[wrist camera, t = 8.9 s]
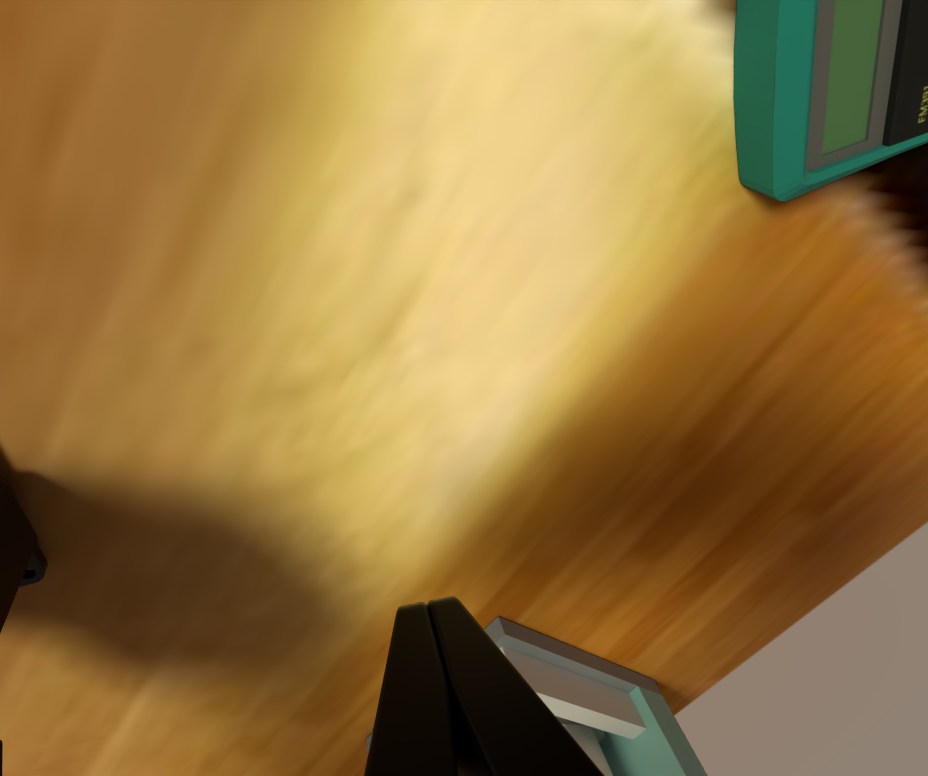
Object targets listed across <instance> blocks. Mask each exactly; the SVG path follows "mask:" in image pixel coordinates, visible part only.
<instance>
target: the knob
mask: <svg viewBox="0 0 928 776" xmlns="http://www.w3.org/2000/svg"><path fill="white" fill-rule="evenodd" d="M556 718H557V719H558V720H559V721H560V722H561V724H562V725H563V726H564V727H565V728H566V730H567V731H568V732H569V733H570V734H571V736H572V737H573V738H574V739H575V740H576V742H577V743H578V744H579V745H580V747H581V748H582V749H583V750H584V751H585V753H586V754H587V755H588V756H589V757H590V759H591V760H592V761H593V762H594V763H595V765H596V766H597V767H598V768H599V769H600V771H601V772H602V773H603V774H604V775H605V776H613V774H612V772H611V770H610V767H609V765H608V763H607V761H606V758H605V756H604V754H603V752H602V749H601V747H600V745H599V743H598V742H600V741H601V740H602V739H603V738H605V737H606V736H605V734H604V732H603V730H600V729H597V728H594V727H590V726H587V725H584V724H580V723H577V722H574V721H571V720H567V719H564V718H561V717H558V716H556Z"/></svg>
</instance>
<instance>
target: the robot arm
mask: <svg viewBox="0 0 928 776" xmlns="http://www.w3.org/2000/svg"><path fill="white" fill-rule="evenodd" d="M37 540H38V537H37V535H36V533H35V531H34V529H33V528H32V526H31V524H30V523H29V521H28V519H27V517H26V516H25V514H24V512H23V510H22V509H21V507H20V505H19V503H18V502H17V500H16V498H15V497H14V495H13V493H12V491H11V490H10V488H9V486H8V484H7V483H6V482H5V481H4V480H2V479H1V478H0V633H1V630H2V628H3V625H4V623H5V620H6V618H7V615H8V613H9V610H10V608H11V605H12V603H13V600H14V598H15V595H16V593H17V590H18V588H19V586H24V585H28V584H33V583H36V582H39V581H40V580H41V579H42V578H43V577H44V574H45V571H46V569H47V566H48V564H47V560H46V559H45V557H44V555H43V553H42V552H41V550H40V548H39V547H38V545H37ZM26 568H31V569H33V570H28V569H26ZM0 776H2V741H1V740H0ZM364 776H605V775H604V774H603V773H602V772H601V771H600V769H599V768H598V767H597V766H596V765H595V763H594V762H593V761H592V760H591V759H590V757H589V756H588V755H587V754H586V753H585V751H584V750H583V749H582V748H581V747H580V745H579V744H578V743H577V742H576V740H575V739H574V738H573V737H572V736H571V734H570V733H569V732H568V731H567V730H566V728H565V727H564V726H563V725H562V724H561V722H560V721H559V720H558V719H557V718H556V716H555V715H554V714H553V713H552V712H551V710H550V709H549V708H548V707H547V705H546V704H545V703H544V702H543V701H542V699H541V698H540V697H539V696H538V695H537V693H536V692H535V691H534V690H533V689H532V687H531V686H530V685H529V684H528V683H527V681H526V680H525V679H524V678H523V677H522V675H521V674H520V673H519V672H518V670H517V669H516V668H515V667H514V666H513V664H512V663H511V662H510V661H509V660H508V658H507V657H506V656H505V655H504V654H503V652H502V651H501V650H500V649H499V648H498V646H497V645H496V644H495V643H494V642H493V640H492V639H491V638H490V637H489V635H488V634H487V633H486V632H485V631H484V629H483V628H482V627H481V626H480V625H479V623H478V622H477V621H476V620H475V619H474V617H473V616H472V615H471V614H470V613H469V611H468V610H467V609H466V608H465V607H464V605H463V604H462V603H461V602H460V601H459V600H458V599H457V598H456V597H454V596H449V597H444V598H439V599H433V600H430V601H429V602H428V604H427V605H426V603H424V602H418V603H413V604H408V605H403V606H400V607H399V608H398V610H397V612H396V617H395V622H394V627H393V632H392V637H391V642H390V647H389V652H388V658H387V663H386V668H385V673H384V678H383V683H382V688H381V693H380V698H379V703H378V708H377V713H376V718H375V723H374V728H373V733H372V738H371V743H370V748H369V753H368V759H367V764H366V769H365V774H364Z"/></svg>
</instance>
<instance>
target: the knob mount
mask: <svg viewBox="0 0 928 776" xmlns="http://www.w3.org/2000/svg"><path fill="white" fill-rule="evenodd" d="M484 631H485V632H486V633H487V634H488V635H489V637H490V638H491V639H492V640H493V642H494V643H495V644H496V645H497V646H498V648H499V649H500V650H501V651H502V652H503V654H504V655H505V656H506V657H507V658H508V660H509V661H510V662H511V663H512V664H513V666H514V667H515V668H516V669H517V670H518V672H519V673H520V674H521V675H522V677H523V678H524V679H525V680H526V681H527V683H528V684H529V685H530V686H531V687H532V689H533V690H534V691H535V692H536V693H537V695H538V696H539V697H540V698H541V699H542V701H543V702H544V703H545V704H546V705H547V707H548V708H549V709H550V710H551V712H552V713H553V714H554V715H555V716H558V717H561V718H564V719H567V720H571V721H574V722H577V723H580V724H584V725H587V726H590V727H594V728H597V729H600V730H603V732H604V734H605V736H606V737H605V738H603V739H602V740H601V741H600V742H598V743H599V745H600V747H601V749H602V752H603V754H604V756H605V758H606V761H607V763H608V765H609V767H610V770H611V772H612V774H613V776H707V774H706V772H705V770H704V768H703V767H702V765H701V763H700V762H699V760H698V758H697V756H696V754H695V752H694V751H693V749H692V747H691V745H690V744H689V742H688V740H687V738H686V737H685V735H684V733H683V731H682V730H681V728H680V726H679V724H678V722H677V721H676V719H675V717H674V715H673V713H672V712H671V710H670V708H669V706H668V704H667V703H666V701H665V699H664V697H663V696H662V694H661V692H660V690H659V688H658V687H657V685H656V683H655V681H654V680H653V679H651V678H648V677H646V676H643V675H641V674H638V673H636V672H633V671H631V670H629V669H626V668H624V667H621V666H619V665H616V664H614V663H611V662H609V661H607V660H604V659H602V658H599V657H597V656H594V655H592V654H589V653H587V652H584V651H582V650H580V649H577V648H575V647H572V646H570V645H567V644H565V643H562V642H560V641H558V640H555V639H553V638H550V637H548V636H545V635H543V634H540V633H538V632H535V631H533V630H531V629H528V628H526V627H523V626H521V625H518V624H516V623H513V622H511V621H509V620H506V619H504V618H501V617H499V616H498V617H497V618H496V619H495V620H494V621H493V622H492V623H491V624H489V625H488V626H487V627H486V628H485V629H484ZM371 738H372V734H371V735H370V736H369V737H368V738H366V743H367V750H368V753H369V748H370V743H371Z"/></svg>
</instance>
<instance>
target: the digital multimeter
mask: <svg viewBox="0 0 928 776" xmlns="http://www.w3.org/2000/svg"><path fill="white" fill-rule="evenodd" d="M734 110H735V129H736V144H737V156H738V167H739V177H740V181H741V184H743V185H744V186H746V187H747V188H750V189H752V190H755V191H757V192H759V193H762V194H764V195H766V196H769V197H771V198H773V199H776V200H778V201H789V200H791V199H793V198H796V197H798V196H800V195H803V194H805V193H808V192H810V191H812V190H815V189H817V188H819V187H822V186H824V185H826V184H829V183H831V182H833V181H836V180H838V179H841V178H843V177H845V176H848V175H850V174H852V173H855V172H857V171H859V170H862V169H864V168H866V167H869V166H871V165H874V164H876V163H878V162H881V161H883V160H885V159H888V158H890V157H892V156H895V155H897V154H899V153H902V152H905V151H907V150H910V149H913V148H915V147H918V146H920V145H923V144H926V143H928V0H737V12H736V28H735V44H734Z"/></svg>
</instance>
